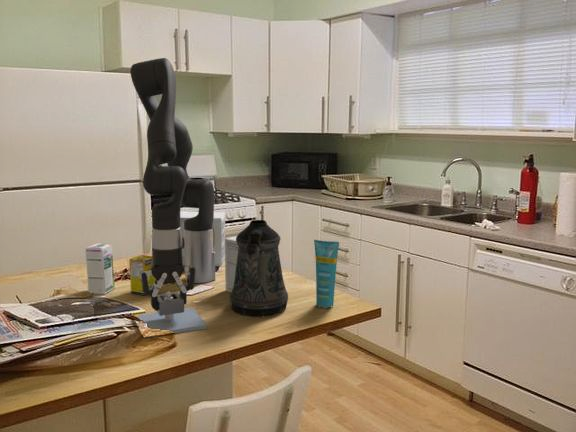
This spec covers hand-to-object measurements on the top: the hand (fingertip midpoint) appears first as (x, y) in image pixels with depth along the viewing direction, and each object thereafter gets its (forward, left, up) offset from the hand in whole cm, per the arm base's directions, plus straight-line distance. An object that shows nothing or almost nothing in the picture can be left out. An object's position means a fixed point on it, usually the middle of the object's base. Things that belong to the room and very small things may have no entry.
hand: (169, 307), depth 141 cm
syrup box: (+13, -35, -5) cm, 38 cm away
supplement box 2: (-25, -57, -5) cm, 62 cm away
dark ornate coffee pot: (-26, -1, -5) cm, 26 cm away
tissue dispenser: (0, 0, -1) cm, 1 cm away
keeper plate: (0, 0, -4) cm, 4 cm away
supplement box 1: (+1, -29, -5) cm, 29 cm away
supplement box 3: (-28, -18, -5) cm, 34 cm away
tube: (-44, +4, -5) cm, 44 cm away
